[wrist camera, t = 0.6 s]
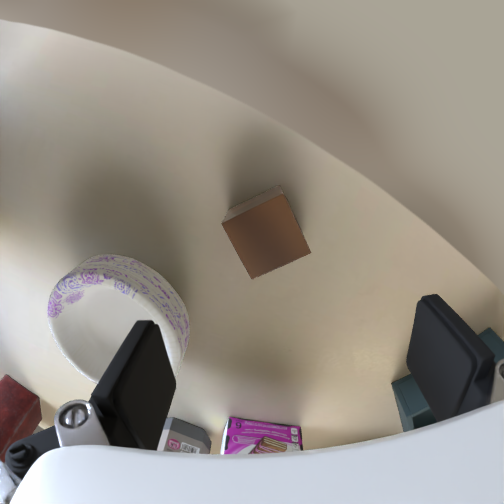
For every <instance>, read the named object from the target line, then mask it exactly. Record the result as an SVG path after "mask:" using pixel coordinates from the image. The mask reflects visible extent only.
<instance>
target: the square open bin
mask: <svg viewBox="0 0 504 504" xmlns="http://www.w3.org/2000/svg"><path fill="white" fill-rule="evenodd" d="M478 336H479V337H480V339H481V340H482V341H483V342H484V343H485V344H486V345H487V346H488V347H489V348H490V350H491V351H492V352H493V353H494V354H495V358H494V362H495V363H496V364H497V363H498V361H500V360H502V359H504V342H503V340H502V339H501V338H500V337H499V336H498V335H497V334H496V333H495V332H494V331H493V330H492V329H491V328H488V329H487V330H485V331H484V332H482V333H481V334H479V335H478ZM391 384H392V388H393V391H394V395H395V399H396V403H397V407H398V410H399V414H400V419H401V423H402V427H403V431H404V432H407V431H410V430H414V429H418V428H421V427H424V426H428V425H431V424H434V423H437V421H436V419H435V417H434V415H433V413H432V411H431V409H430V407H429V405H428V403H427V401H426V400H425V398H424V396H423V394H422V392H421V390H420V389H419V387H418V385H417V383H416V381H415V379H414V378H413V376H412V374H410V375H408V376H406V377H403V378H401V379H399V380H397V381H395V382H393V383H391Z"/></svg>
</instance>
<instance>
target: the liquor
mask: <svg viewBox="0 0 504 504" xmlns="http://www.w3.org/2000/svg"><path fill="white" fill-rule="evenodd" d="M210 448H211V440H210V438H209V437H208V435H207V434H206V432H205V431H204V430H203V429H202V428H199V427H197V426H194V425H192V424H189V423H187V422H184V421H182V420H179V419H177V418H166V422H165V425H164V428H163V431H162V435H161V438H160V441H159V445H158V448H157V451H165V452H179V453H196V454H210Z"/></svg>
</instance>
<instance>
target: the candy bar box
mask: <svg viewBox="0 0 504 504" xmlns="http://www.w3.org/2000/svg"><path fill="white" fill-rule="evenodd" d="M293 451H303V445H302V433H301V427H300V426H290V425H281V424H273V423H265V422H258V421H252V420H246V419H240V418H234V417H229V419H228V422H227V425H226V428H225V430H224V433H223V438H222V447H221V454H264V453H280V452H293Z"/></svg>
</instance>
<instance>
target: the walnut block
mask: <svg viewBox="0 0 504 504" xmlns="http://www.w3.org/2000/svg"><path fill="white" fill-rule="evenodd" d="M221 224H222V226H223V228H224V230H225V231H226V233H227V235H228V237H229V239H230V241H231V243H232V244H233V246H234V248H235V250H236V252H237V254H238V255H239V257H240V259H241V261H242V263H243V265H244V266H245V268H246V270H247V272H248V274H249V276H250V277H251V279H255V278H257V277H259V276H261V275H264V274H266V273H268V272H270V271H273V270H275V269H277V268H279V267H282V266H284V265H286V264H288V263H290V262H293V261H295V260H297V259H299V258H301V257H304V256H306V255H308V254H310V253H311V251H310V249H309V247H308V245H307V242H306V240H305V238H304V236H303V233H302V231H301V229H300V227H299V225H298V223H297V220H296V218H295V216H294V214H293V212H292V210H291V208H290V206H289V204H288V201H287V199H286V197H285V195H284V193H283V191H282V189H281V187H280V185H278V186H276V187H274V188H272V189H270V190H268V191H266V192H263V193H261V194H259V195H257V196H255V197H253V198H251V199H249V200H247V201H245V202H243V203H241V204H239V205H237V206H235V207H233V208H231V209H229V210H228V212H227V214H226V216H225V217H224V219H223V221H222V223H221Z"/></svg>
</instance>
